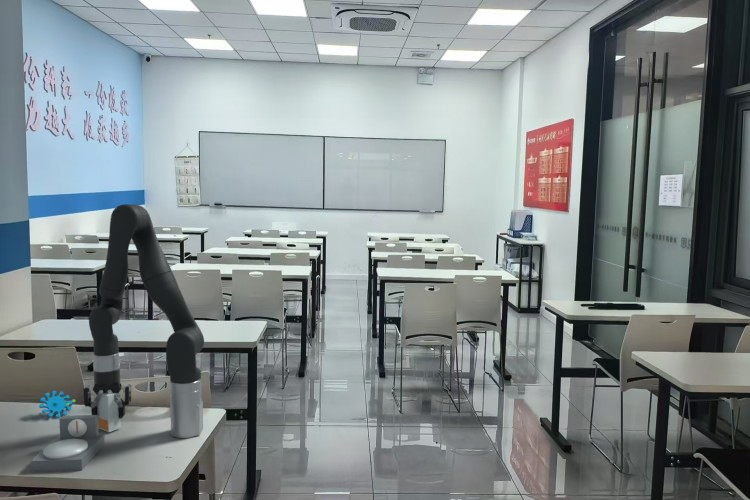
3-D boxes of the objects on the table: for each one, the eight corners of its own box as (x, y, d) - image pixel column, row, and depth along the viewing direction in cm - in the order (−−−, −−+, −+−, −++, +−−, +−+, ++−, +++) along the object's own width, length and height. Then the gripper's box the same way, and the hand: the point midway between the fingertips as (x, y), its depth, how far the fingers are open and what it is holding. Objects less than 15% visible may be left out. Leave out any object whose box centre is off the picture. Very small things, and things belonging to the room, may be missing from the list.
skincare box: (97, 428, 182) (95, 391, 181) (109, 424, 185) (108, 388, 184) (108, 432, 179) (107, 395, 178) (121, 428, 182) (119, 391, 181)
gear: (42, 417, 187) (38, 390, 192) (37, 426, 190) (33, 400, 195) (78, 413, 195) (74, 388, 200) (72, 422, 198) (68, 397, 203)
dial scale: (104, 443, 172) (103, 414, 171) (82, 470, 155) (81, 438, 154) (59, 444, 171) (58, 415, 170) (31, 471, 154) (30, 439, 153)
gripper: (134, 363, 185) (135, 413, 186) (87, 364, 183) (89, 414, 185) (126, 370, 177) (128, 422, 179) (78, 371, 176) (80, 423, 177)
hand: (108, 418), depth 182 cm, fingers closed on skincare box, 7 cm apart
